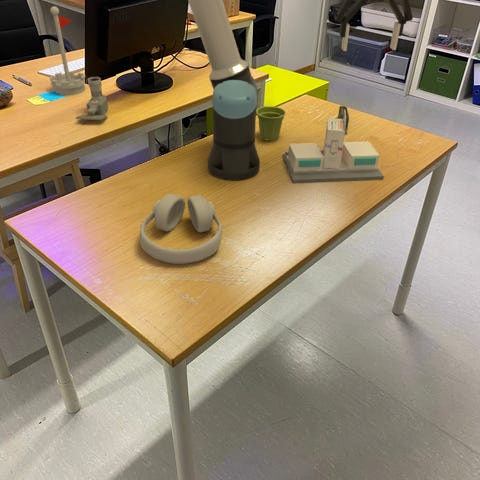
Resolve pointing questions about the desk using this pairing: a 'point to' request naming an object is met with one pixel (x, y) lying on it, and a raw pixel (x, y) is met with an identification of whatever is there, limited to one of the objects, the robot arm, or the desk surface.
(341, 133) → the ink cartridge box
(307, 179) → the rail panel
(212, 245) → the headphones
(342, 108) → the mobile phone
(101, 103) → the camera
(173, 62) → the desk surface
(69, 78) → the flag stand
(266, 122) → the plant pot
